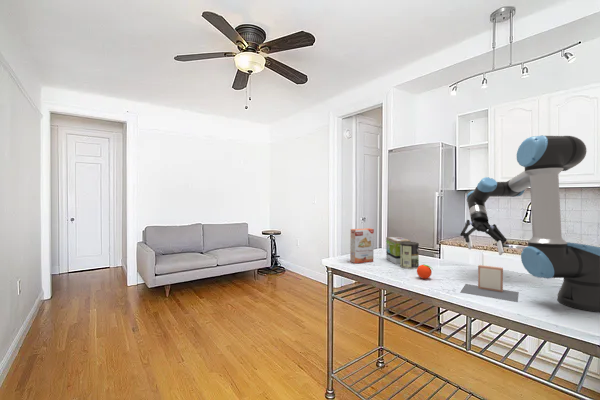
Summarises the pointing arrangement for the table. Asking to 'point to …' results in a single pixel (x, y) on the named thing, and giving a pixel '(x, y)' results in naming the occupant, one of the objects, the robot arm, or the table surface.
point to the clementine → (424, 271)
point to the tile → (490, 278)
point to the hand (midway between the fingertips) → (486, 250)
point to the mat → (490, 293)
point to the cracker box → (362, 245)
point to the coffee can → (409, 255)
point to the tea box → (394, 248)
